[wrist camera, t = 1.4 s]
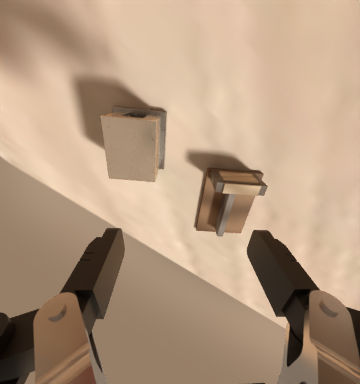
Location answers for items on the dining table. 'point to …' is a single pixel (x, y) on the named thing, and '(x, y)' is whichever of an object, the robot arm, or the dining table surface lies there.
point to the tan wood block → (131, 146)
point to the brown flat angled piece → (143, 113)
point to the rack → (228, 199)
